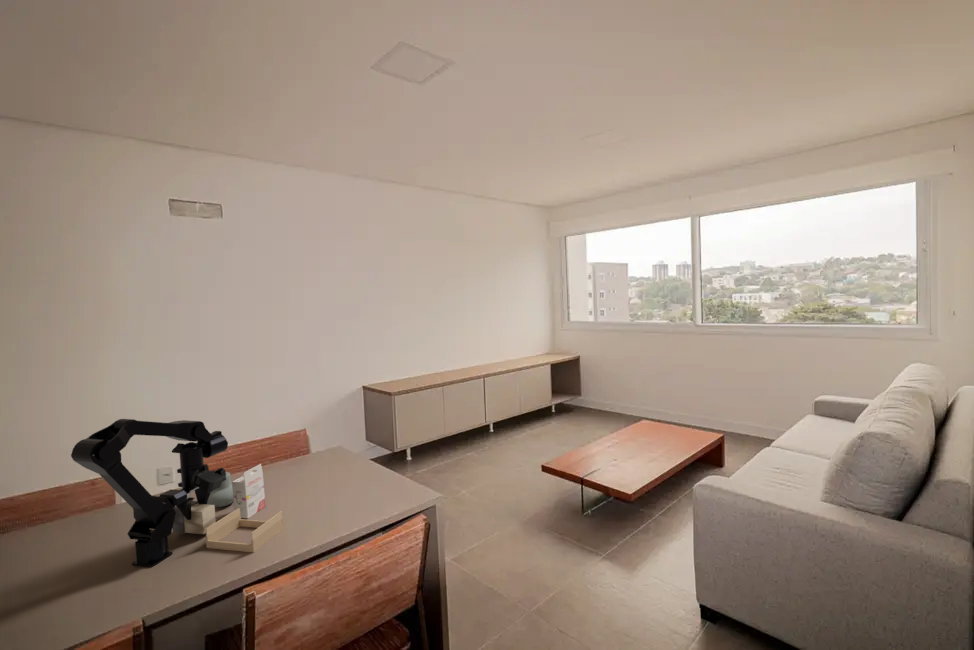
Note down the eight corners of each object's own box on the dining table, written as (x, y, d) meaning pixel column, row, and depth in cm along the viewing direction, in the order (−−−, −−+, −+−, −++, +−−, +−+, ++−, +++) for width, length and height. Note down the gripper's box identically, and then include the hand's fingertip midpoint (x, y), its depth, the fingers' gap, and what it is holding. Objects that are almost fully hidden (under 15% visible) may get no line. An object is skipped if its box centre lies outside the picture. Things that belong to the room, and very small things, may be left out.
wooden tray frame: (253, 552, 125) (252, 532, 124) (206, 547, 128) (205, 528, 127) (283, 529, 137) (282, 510, 137) (239, 525, 140) (238, 507, 140)
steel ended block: (217, 525, 137) (215, 502, 137) (202, 535, 132) (200, 511, 131) (188, 523, 139) (187, 500, 139) (172, 532, 134) (171, 509, 134)
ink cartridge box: (252, 505, 153) (249, 462, 152) (265, 506, 152) (263, 462, 151) (233, 518, 145) (230, 472, 144) (247, 519, 144) (244, 473, 143)
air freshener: (233, 508, 152) (231, 478, 151) (204, 513, 149) (202, 483, 148) (238, 495, 162) (236, 467, 161) (211, 499, 159) (209, 471, 158)
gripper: (188, 477, 124) (192, 534, 125) (239, 453, 142) (242, 503, 143) (154, 475, 126) (158, 531, 127) (208, 452, 144) (211, 501, 145)
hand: (195, 515), depth 135 cm, fingers closed on steel ended block, 4 cm apart
